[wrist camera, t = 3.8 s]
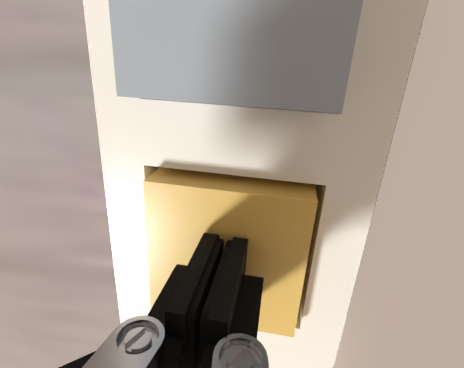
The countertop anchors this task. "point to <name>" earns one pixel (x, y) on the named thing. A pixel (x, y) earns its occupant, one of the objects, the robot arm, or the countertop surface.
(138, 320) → the robot arm
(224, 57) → the key slate
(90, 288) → the countertop surface
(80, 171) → the countertop surface
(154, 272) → the key ochre
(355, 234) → the keypad
